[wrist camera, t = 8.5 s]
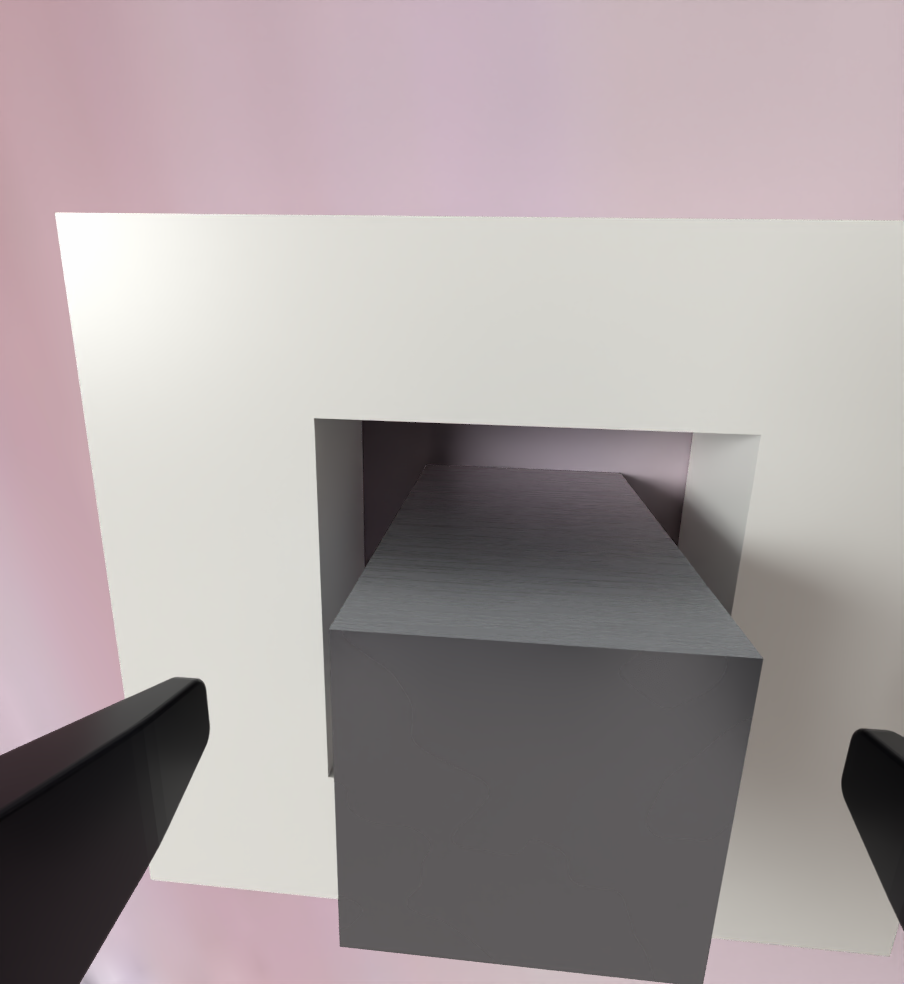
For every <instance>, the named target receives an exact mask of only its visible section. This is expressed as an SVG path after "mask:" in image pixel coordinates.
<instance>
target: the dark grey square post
mask: <svg viewBox="0 0 904 984" xmlns="http://www.w3.org/2000/svg"><path fill="white" fill-rule="evenodd" d="M329 650H330V678H331V707H332V735H333V764H334V792H335V821H336V850H337V878H338V907H339V935H340V947H349V948H358V949H367V950H376V951H385V952H394V953H403V954H412V955H421V956H430V957H439V958H448V959H457V960H466V961H475V962H484V963H493V964H502V965H511V966H520V967H529V968H538V969H547V970H556V971H565V972H574V973H583V974H592V975H601V976H610V977H619V978H628V979H637V980H646V981H655V982H664V983H673V984H703V981H704V976H705V970H706V965H707V960H708V954H709V949H710V944H711V938H712V933H713V927H714V922H715V917H716V911H717V906H718V901H719V895H720V890H721V884H722V879H723V874H724V868H725V863H726V858H727V852H728V847H729V841H730V836H731V831H732V825H733V820H734V815H735V809H736V804H737V798H738V793H739V788H740V782H741V777H742V772H743V766H744V761H745V755H746V750H747V745H748V739H749V734H750V729H751V723H752V718H753V712H754V707H755V702H756V696H757V691H758V686H759V680H760V675H761V669H762V664H763V657H762V656H761V655H760V653H759V652H758V651H757V650H756V648H755V647H754V646H753V644H752V643H751V642H750V640H749V639H748V638H747V637H746V635H745V634H744V633H743V631H742V630H741V629H740V627H739V626H738V625H737V624H736V622H735V621H734V620H733V618H732V617H731V616H730V614H729V613H728V612H727V611H726V609H725V608H724V607H723V605H722V604H721V603H720V602H719V600H718V599H717V598H716V596H715V595H714V594H713V592H712V591H711V590H710V589H709V587H708V586H707V585H706V583H705V582H704V581H703V579H702V578H701V577H700V576H699V574H698V573H697V572H696V570H695V569H694V568H693V566H692V565H691V564H690V563H689V561H688V560H687V559H686V557H685V556H684V555H683V553H682V552H681V551H680V550H679V548H678V547H677V546H676V544H675V543H674V542H673V540H672V539H671V538H670V537H669V535H668V534H667V533H666V531H665V530H664V529H663V527H662V526H661V525H660V524H659V522H658V521H657V520H656V518H655V517H654V516H653V514H652V513H651V512H650V511H649V509H648V508H647V507H646V505H645V504H644V503H643V502H642V500H641V499H640V498H639V496H638V495H637V494H636V492H635V491H634V490H633V489H632V487H631V486H630V485H629V483H628V482H627V481H626V479H625V478H624V477H623V476H622V474H621V473H611V472H589V471H566V470H543V469H521V468H498V467H476V466H453V465H430V464H426V466H425V468H424V469H423V471H422V473H421V475H420V476H419V478H418V480H417V481H416V483H415V485H414V486H413V488H412V490H411V491H410V493H409V495H408V496H407V498H406V500H405V502H404V503H403V505H402V507H401V508H400V510H399V512H398V513H397V515H396V517H395V518H394V520H393V522H392V523H391V525H390V527H389V529H388V530H387V532H386V534H385V535H384V537H383V539H382V540H381V542H380V544H379V545H378V547H377V549H376V550H375V552H374V554H373V556H372V557H371V559H370V561H369V562H368V564H367V566H366V567H365V569H364V571H363V572H362V574H361V576H360V577H359V579H358V581H357V583H356V584H355V586H354V588H353V589H352V591H351V593H350V594H349V596H348V598H347V599H346V601H345V603H344V604H343V606H342V608H341V610H340V611H339V613H338V615H337V616H336V618H335V620H334V621H333V623H332V625H331V626H330V628H329Z"/></svg>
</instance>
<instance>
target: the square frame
mask: <svg viewBox="0 0 904 984" xmlns="http://www.w3.org/2000/svg"><path fill="white" fill-rule="evenodd" d="M55 217H56V223H57V230H58V237H59V244H60V251H61V258H62V265H63V272H64V279H65V286H66V293H67V300H68V307H69V314H70V321H71V328H72V335H73V342H74V349H75V355H76V362H77V369H78V376H79V383H80V390H81V397H82V404H83V411H84V418H85V425H86V432H87V439H88V446H89V453H90V460H91V467H92V474H93V481H94V488H95V494H96V501H97V508H98V515H99V522H100V529H101V536H102V543H103V550H104V557H105V564H106V571H107V578H108V585H109V592H110V599H111V606H112V613H113V620H114V627H115V633H116V640H117V647H118V654H119V661H120V668H121V675H122V682H123V689H124V696H125V699H126V698H128V697H130V696H133V695H135V694H137V693H139V692H142V691H144V690H146V689H148V688H150V687H153V686H155V685H157V684H159V683H161V682H164V681H166V680H168V679H170V678H173V677H187V678H199V679H201V680H202V681H203V682H204V683H205V686H206V691H207V701H208V711H209V721H210V735H209V739H208V743H207V745H206V748H205V750H204V752H203V754H202V756H201V759H200V761H199V763H198V765H197V767H196V769H195V772H194V774H193V776H192V778H191V780H190V782H189V785H188V787H187V789H186V791H185V793H184V795H183V798H182V800H181V802H180V804H179V806H178V808H177V811H176V813H175V815H174V817H173V819H172V821H171V824H170V826H169V828H168V830H167V832H166V834H165V836H164V838H163V840H162V842H161V844H160V846H159V848H158V850H157V852H156V853H155V855H154V857H153V859H152V861H151V862H150V864H149V870H150V877H151V880H158V881H168V882H177V883H187V884H197V885H206V886H216V887H225V888H235V889H245V890H254V891H264V892H273V893H283V894H293V895H302V896H312V897H321V898H331V899H338V878H337V850H336V821H335V792H334V764H333V735H332V707H331V678H330V650H329V628H330V626H331V625H332V623H333V621H334V620H335V618H336V616H337V615H338V613H339V611H340V610H341V608H342V606H343V604H344V603H345V601H346V599H347V598H348V596H349V594H350V593H351V591H352V589H353V588H354V586H355V584H356V583H357V581H358V579H359V577H360V576H361V574H362V572H363V571H364V569H365V560H364V504H363V447H362V420H376V421H403V422H429V423H456V424H482V425H509V426H536V427H562V428H589V429H615V430H642V431H668V432H693V436H692V444H691V451H690V459H689V466H688V474H687V481H686V489H685V496H684V504H683V511H682V519H681V526H680V533H679V541H678V548H679V550H680V551H681V552H682V553H683V555H684V556H685V557H686V559H687V560H688V561H689V563H690V564H691V565H692V566H693V568H694V569H695V570H696V572H697V573H698V574H699V576H700V577H701V578H702V579H703V581H704V582H705V583H706V585H707V586H708V587H709V589H710V590H711V591H712V592H713V594H714V595H715V596H716V598H717V599H718V600H719V602H720V603H721V604H722V605H723V607H724V608H725V609H726V611H727V612H728V613H729V614H730V616H731V617H732V618H733V620H734V621H735V622H736V624H737V625H738V626H739V627H740V629H741V630H742V631H743V633H744V634H745V635H746V637H747V638H748V639H749V640H750V642H751V643H752V644H753V646H754V647H755V648H756V650H757V651H758V652H759V653H760V655H761V656H762V657H763V664H762V669H761V675H760V680H759V686H758V691H757V696H756V702H755V707H754V712H753V718H752V723H751V729H750V734H749V739H748V745H747V750H746V755H745V761H744V766H743V772H742V777H741V782H740V788H739V793H738V798H737V804H736V809H735V815H734V820H733V825H732V831H731V836H730V841H729V847H728V852H727V858H726V863H725V868H724V874H723V879H722V884H721V890H720V895H719V901H718V906H717V911H716V917H715V922H714V927H713V933H712V938H714V939H724V940H734V941H743V942H753V943H762V944H772V945H782V946H791V947H801V948H810V949H820V950H830V951H839V952H849V953H858V954H868V955H877V956H887V957H890V953H891V950H892V946H893V943H894V940H895V936H896V933H897V929H898V926H899V921H898V919H897V917H896V915H895V912H894V910H893V908H892V906H891V904H890V902H889V900H888V898H887V895H886V893H885V891H884V889H883V886H882V884H881V882H880V880H879V877H878V875H877V873H876V871H875V868H874V866H873V864H872V862H871V859H870V857H869V855H868V852H867V850H866V848H865V846H864V843H863V841H862V839H861V837H860V834H859V832H858V830H857V828H856V825H855V823H854V821H853V819H852V816H851V814H850V812H849V810H848V807H847V805H846V803H845V800H844V798H843V794H842V789H841V778H842V773H843V769H844V765H845V761H846V756H847V752H848V748H849V744H850V740H851V737H852V734H853V733H854V732H855V731H856V730H858V729H860V728H867V729H881V730H890V731H893V732H895V733H897V734H899V735H901V736H903V737H904V221H894V220H787V219H680V218H573V217H466V216H359V215H252V214H146V213H55Z"/></svg>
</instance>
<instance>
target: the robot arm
mask: <svg viewBox="0 0 904 984" xmlns="http://www.w3.org/2000/svg"><path fill="white" fill-rule="evenodd" d="M209 735H210V721H209V711H208V701H207V691H206V686H205V683H204V682H203V681H202V680H201V679H199V678H187V677H173V678H170V679H168V680H166V681H164V682H161V683H159V684H157V685H155V686H153V687H150V688H148V689H146V690H144V691H142V692H139V693H137V694H135V695H133V696H130V697H128V698H126V699H124V700H122V701H119V702H117V703H115V704H113V705H111V706H108V707H106V708H104V709H102V710H100V711H97V712H95V713H93V714H91V715H88V716H86V717H84V718H82V719H80V720H77V721H75V722H73V723H71V724H69V725H66V726H64V727H62V728H60V729H58V730H55V731H53V732H51V733H49V734H46V735H44V736H42V737H40V738H38V739H35V740H33V741H31V742H29V743H27V744H24V745H22V746H20V747H18V748H16V749H13V750H11V751H9V752H7V753H4V754H2V755H0V984H80V982H81V981H82V979H83V977H84V975H85V974H86V972H87V970H88V969H89V967H90V965H91V964H92V962H93V960H94V958H95V957H96V955H97V953H98V952H99V950H100V948H101V946H102V945H103V943H104V941H105V940H106V938H107V936H108V934H109V933H110V931H111V929H112V928H113V926H114V924H115V922H116V921H117V919H118V917H119V916H120V914H121V912H122V910H123V909H124V907H125V905H126V904H127V902H128V900H129V898H130V897H131V895H132V893H133V892H134V890H135V888H136V886H137V885H138V883H139V881H140V880H141V878H142V876H143V874H144V873H145V871H146V869H147V868H148V866H149V864H150V862H151V861H152V859H153V857H154V855H155V853H156V852H157V850H158V848H159V846H160V844H161V842H162V840H163V838H164V836H165V834H166V832H167V830H168V828H169V826H170V824H171V821H172V819H173V817H174V815H175V813H176V811H177V808H178V806H179V804H180V802H181V800H182V798H183V795H184V793H185V791H186V789H187V787H188V785H189V782H190V780H191V778H192V776H193V774H194V772H195V769H196V767H197V765H198V763H199V761H200V759H201V756H202V754H203V752H204V750H205V748H206V745H207V743H208V739H209ZM841 789H842V794H843V798H844V800H845V803H846V805H847V807H848V810H849V812H850V814H851V816H852V819H853V821H854V823H855V825H856V828H857V830H858V832H859V834H860V837H861V839H862V841H863V843H864V846H865V848H866V850H867V852H868V855H869V857H870V859H871V862H872V864H873V866H874V868H875V871H876V873H877V875H878V877H879V880H880V882H881V884H882V886H883V889H884V891H885V893H886V895H887V898H888V900H889V902H890V904H891V906H892V908H893V910H894V912H895V915H896V917H897V919H898V921H899V923H900V924H901V926H902V928H903V930H904V737H903V736H901V735H899V734H897V733H895V732H893V731H890V730H881V729H867V728H860V729H858V730H856V731H855V732H854V733H853V734H852V737H851V740H850V744H849V748H848V752H847V756H846V761H845V765H844V769H843V773H842V778H841Z"/></svg>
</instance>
